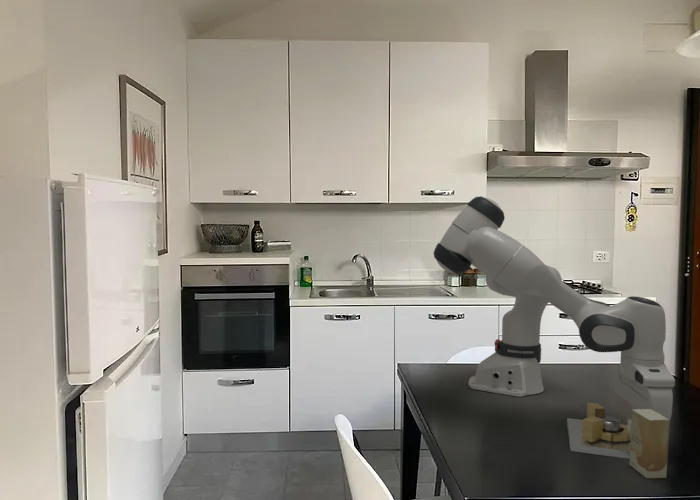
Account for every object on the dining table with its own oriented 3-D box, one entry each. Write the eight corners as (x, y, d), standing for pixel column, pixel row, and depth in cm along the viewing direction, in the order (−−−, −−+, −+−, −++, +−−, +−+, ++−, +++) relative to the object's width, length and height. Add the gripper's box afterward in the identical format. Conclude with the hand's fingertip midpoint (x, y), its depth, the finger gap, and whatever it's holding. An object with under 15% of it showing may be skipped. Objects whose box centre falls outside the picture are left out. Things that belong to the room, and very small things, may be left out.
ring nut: (559, 421, 134) (559, 404, 133) (615, 419, 135) (616, 401, 135) (590, 444, 120) (590, 424, 120) (652, 441, 122) (653, 421, 122)
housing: (570, 450, 121) (571, 427, 121) (567, 424, 137) (567, 403, 137) (656, 462, 116) (657, 438, 115) (642, 433, 132) (642, 411, 131)
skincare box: (628, 465, 114) (630, 408, 114) (647, 464, 115) (650, 407, 114) (647, 479, 108) (649, 419, 107) (668, 479, 108) (670, 418, 108)
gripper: (609, 355, 135) (606, 409, 136) (648, 381, 115) (645, 445, 116) (635, 355, 134) (632, 410, 136) (679, 382, 114) (676, 445, 115)
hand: (639, 426), depth 125 cm, fingers closed, pressing on ring nut
